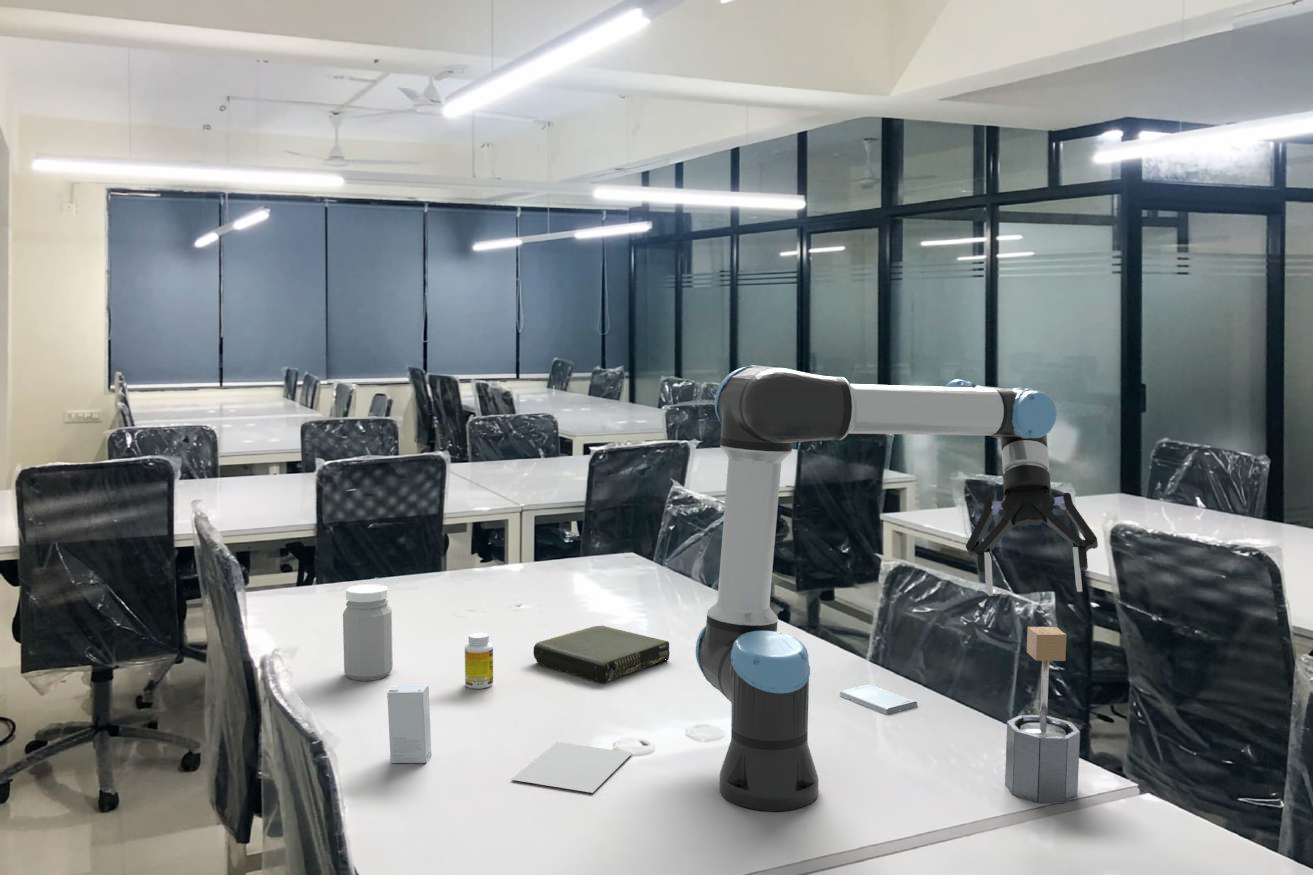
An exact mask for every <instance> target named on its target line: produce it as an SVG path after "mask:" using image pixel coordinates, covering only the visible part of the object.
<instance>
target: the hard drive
mask: <svg viewBox="0 0 1313 875" xmlns="http://www.w3.org/2000/svg"><path fill="white" fill-rule="evenodd" d="M840 695H841V696H840ZM839 696H840V697H842V698H844V697H846V698H845V699H847V698H848V699H847V700H849V699H851V700H850V701H852V700H853V701H852V702H854V701H856V702H855V703H857V704H859V705H862V704H863V705H862V706H864V707H867V708H869V709H872V710H875V711H877V712H880V713H881V714H884V713H885V714H884V715H890V714H893V713H892V712H894V713H897V712H900V711H899V710H901V711H905V710H908V709H907V708H909V709H913V708H916V707H918V701H916V700H913V699H911V698H908V697H906V696H903V695H900V694H897V693H894V692H892V691H889V690H887V689H884V688H881V687H877V686H875V685H873V684H871V683H870V684H869V683H868V684H864V685H859V686H856V687H852V688H851V687H850V688H847V689H843V690H841V691H840V693H839ZM915 706H916V707H915ZM912 707H913V708H912ZM904 709H905V710H904Z"/></svg>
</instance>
